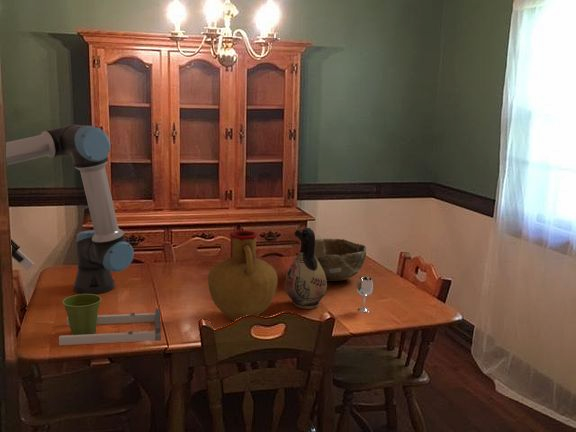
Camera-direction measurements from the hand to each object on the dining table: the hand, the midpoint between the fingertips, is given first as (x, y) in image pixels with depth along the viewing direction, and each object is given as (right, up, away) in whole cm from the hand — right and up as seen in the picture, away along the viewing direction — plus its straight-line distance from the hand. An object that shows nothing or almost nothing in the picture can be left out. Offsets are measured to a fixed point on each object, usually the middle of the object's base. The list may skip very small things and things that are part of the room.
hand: (30, 266), depth 196 cm
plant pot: (+15, -22, +4) cm, 27 cm away
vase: (+65, -19, +21) cm, 71 cm away
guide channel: (+24, -21, +5) cm, 33 cm away
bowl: (+100, -11, +67) cm, 121 cm away
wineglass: (+108, -18, +31) cm, 114 cm away
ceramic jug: (+87, -17, +35) cm, 95 cm away
